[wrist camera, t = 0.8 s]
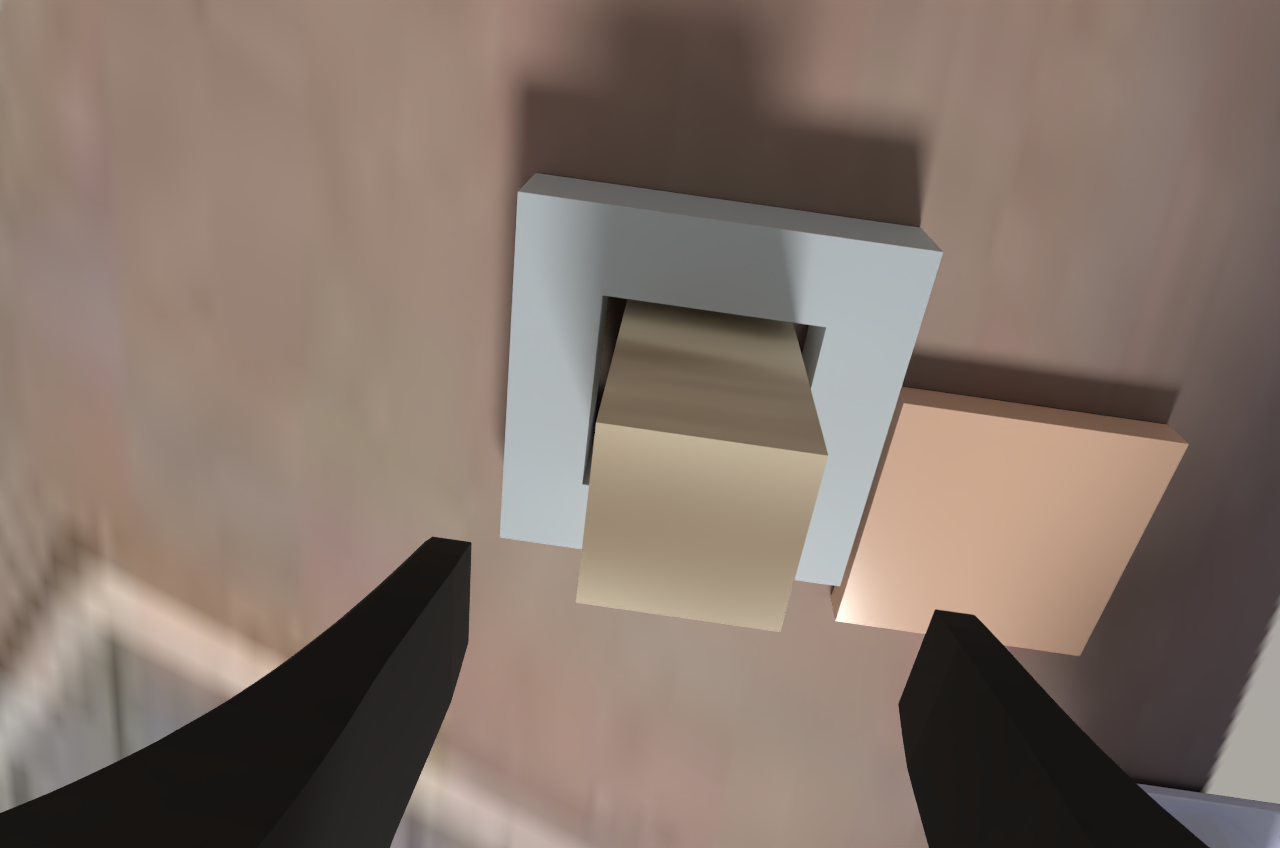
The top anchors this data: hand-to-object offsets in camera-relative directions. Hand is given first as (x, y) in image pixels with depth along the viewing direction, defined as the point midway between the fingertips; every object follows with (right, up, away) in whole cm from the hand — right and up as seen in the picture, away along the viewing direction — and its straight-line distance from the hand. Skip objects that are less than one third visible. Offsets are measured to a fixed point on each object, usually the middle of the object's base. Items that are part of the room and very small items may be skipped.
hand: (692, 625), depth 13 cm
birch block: (+1, +4, +8) cm, 10 cm away
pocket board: (+1, +4, +8) cm, 9 cm away
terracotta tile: (+9, +1, +10) cm, 13 cm away
